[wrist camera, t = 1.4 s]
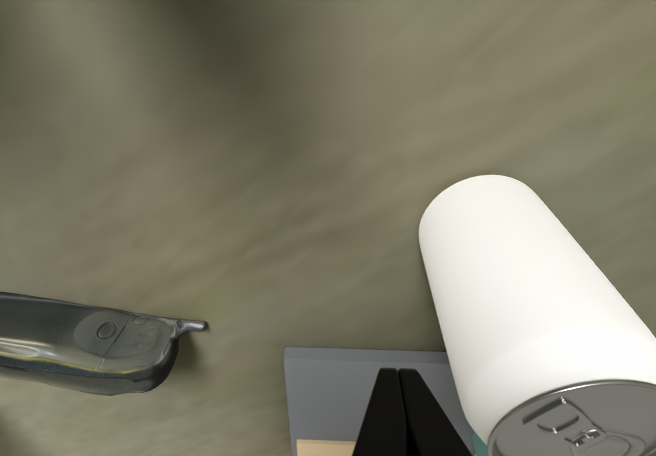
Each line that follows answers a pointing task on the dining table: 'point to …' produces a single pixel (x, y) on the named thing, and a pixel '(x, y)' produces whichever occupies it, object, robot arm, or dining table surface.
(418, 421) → the robot arm
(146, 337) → the mobile phone
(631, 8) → the dining table surface
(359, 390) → the grey flat board
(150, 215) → the dining table surface
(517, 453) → the can
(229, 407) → the dining table surface
